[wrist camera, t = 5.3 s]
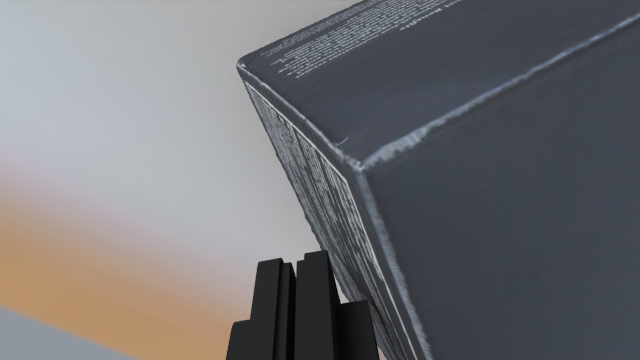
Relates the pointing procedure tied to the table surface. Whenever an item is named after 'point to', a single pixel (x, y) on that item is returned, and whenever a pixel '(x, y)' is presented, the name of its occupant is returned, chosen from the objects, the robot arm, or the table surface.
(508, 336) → the small box
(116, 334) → the table surface
